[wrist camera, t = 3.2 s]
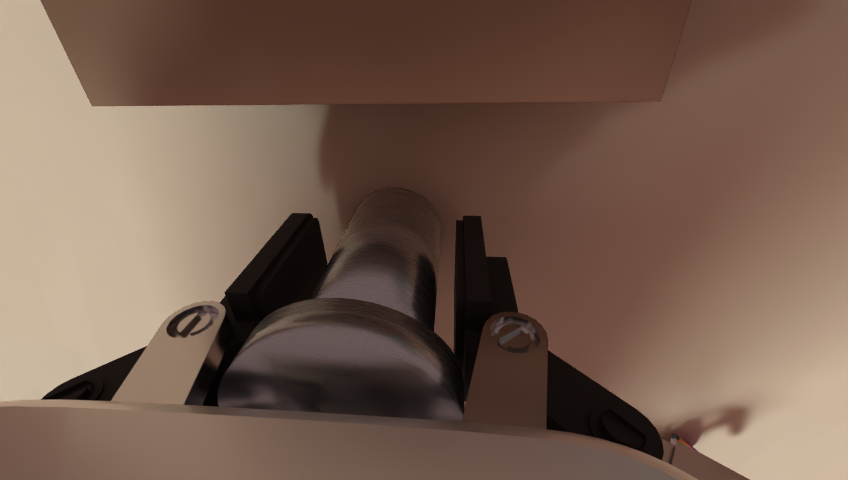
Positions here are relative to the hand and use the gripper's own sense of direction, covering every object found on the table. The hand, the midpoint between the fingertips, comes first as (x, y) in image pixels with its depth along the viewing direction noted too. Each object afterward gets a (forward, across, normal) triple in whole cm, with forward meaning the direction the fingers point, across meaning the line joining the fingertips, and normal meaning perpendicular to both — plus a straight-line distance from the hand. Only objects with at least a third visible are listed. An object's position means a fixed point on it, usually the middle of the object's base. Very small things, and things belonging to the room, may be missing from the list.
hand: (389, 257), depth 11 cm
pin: (+2, 0, 0) cm, 2 cm away
